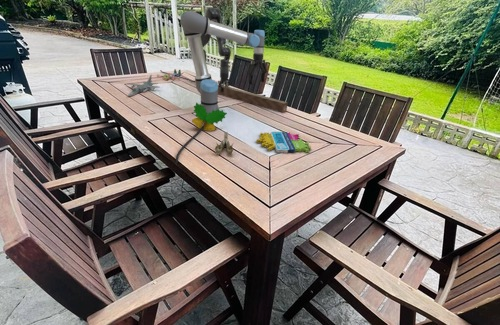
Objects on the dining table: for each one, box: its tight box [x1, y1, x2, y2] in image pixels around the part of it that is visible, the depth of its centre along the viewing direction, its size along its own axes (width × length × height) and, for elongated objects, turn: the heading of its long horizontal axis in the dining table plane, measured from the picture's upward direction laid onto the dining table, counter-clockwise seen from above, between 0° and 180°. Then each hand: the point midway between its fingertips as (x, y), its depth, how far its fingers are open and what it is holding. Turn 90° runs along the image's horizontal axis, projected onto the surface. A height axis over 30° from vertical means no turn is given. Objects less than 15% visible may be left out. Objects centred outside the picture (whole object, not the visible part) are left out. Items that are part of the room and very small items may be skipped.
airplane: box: [127, 74, 159, 97], centre depth 228 cm, size 38×32×10 cm
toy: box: [155, 68, 182, 81], centre depth 281 cm, size 28×7×30 cm
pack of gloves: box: [256, 131, 312, 154], centre depth 152 cm, size 26×2×30 cm
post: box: [218, 85, 289, 114], centre depth 220 cm, size 71×5×7 cm, turn 51°
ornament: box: [191, 102, 228, 132], centre depth 162 cm, size 21×8×15 cm, turn 105°
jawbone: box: [214, 131, 234, 156], centre depth 136 cm, size 9×15×10 cm
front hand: (256, 82), depth 202 cm, fingers open, 13 cm apart
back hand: (224, 91), depth 236 cm, fingers closed on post, 5 cm apart
